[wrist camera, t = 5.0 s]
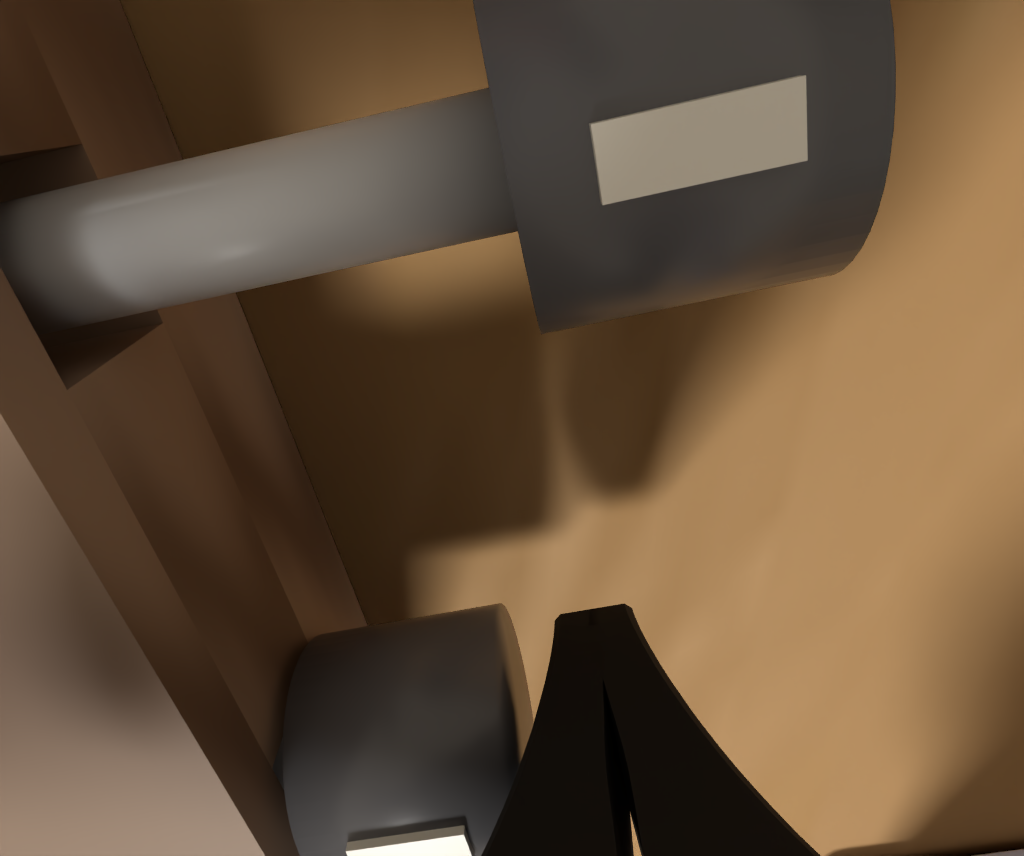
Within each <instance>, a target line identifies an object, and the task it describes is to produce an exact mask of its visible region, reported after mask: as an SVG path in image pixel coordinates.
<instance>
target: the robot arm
mask: <svg viewBox="0 0 1024 856" xmlns="http://www.w3.org/2000/svg"><path fill="white" fill-rule="evenodd" d="M630 813H631V817H632V821H633V824H634V828H635V832H636V836H637V840H638V843H639V847H640V851H641V855H642V856H820V855H819V854H818V853H817V852H816V851H815V850H814V849H813V848H812V847H811V846H810V845H809V844H808V843H807V842H806V841H805V840H804V839H803V838H801V837H800V836H799V835H798V834H797V833H796V832H795V831H794V830H793V829H792V827H791V826H790V825H789V824H788V823H787V822H786V821H785V820H784V819H783V818H782V817H781V816H780V815H779V814H778V813H777V812H776V811H775V810H774V809H773V808H772V806H771V805H770V804H769V803H768V802H767V801H766V800H765V799H764V798H763V797H762V796H761V795H760V793H759V792H758V791H757V790H756V789H755V788H754V787H753V786H752V785H751V783H750V782H749V781H748V780H747V779H746V778H745V777H744V776H743V774H742V773H741V772H740V771H739V770H738V769H737V767H736V766H735V765H734V764H733V763H732V762H731V760H730V759H729V758H728V757H727V755H726V754H725V753H724V752H723V751H722V749H721V748H720V747H719V746H718V744H717V743H716V742H715V741H714V739H713V738H712V737H711V735H710V734H709V733H708V732H707V730H706V729H705V728H704V727H703V725H702V724H701V723H700V721H699V720H698V719H697V717H696V716H695V715H694V713H693V712H692V711H691V709H690V708H689V706H688V705H687V704H686V702H685V701H684V699H683V698H682V696H681V695H680V693H679V692H678V690H677V689H676V688H675V686H674V685H673V683H672V682H671V680H670V679H669V677H668V676H667V674H666V673H665V671H664V670H663V668H662V666H661V665H660V663H659V662H658V660H657V658H656V657H655V655H654V653H653V651H652V650H651V648H650V646H649V645H648V643H647V641H646V639H645V637H644V635H643V633H642V631H641V629H640V627H639V625H638V623H637V620H636V618H635V616H634V613H633V610H632V608H631V607H629V606H627V605H626V604H619V605H613V606H607V607H601V608H595V609H589V610H583V611H577V612H571V613H565V614H560V615H559V617H558V618H557V619H556V620H555V628H554V638H553V646H552V652H551V657H550V662H549V667H548V671H547V676H546V680H545V684H544V688H543V692H542V695H541V699H540V703H539V706H538V710H537V714H536V717H535V721H534V724H533V727H532V731H531V733H530V736H529V739H528V742H527V745H526V748H525V751H524V754H523V757H522V760H521V762H520V765H519V768H518V771H517V774H516V777H515V779H514V782H513V784H512V787H511V789H510V792H509V795H508V797H507V799H506V802H505V804H504V807H503V809H502V811H501V814H500V816H499V818H498V820H497V823H496V825H495V827H494V830H493V832H492V834H491V836H490V838H489V841H488V843H487V845H486V847H485V849H484V851H483V853H482V855H481V856H634V854H633V842H632V831H631V819H630ZM973 856H1024V849H1019V850H1011V851H1004V852H996V853H988V854H981V855H973Z"/></svg>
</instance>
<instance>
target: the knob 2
mask: <svg viewBox="0 0 1024 856" xmlns="http://www.w3.org/2000/svg"><path fill="white" fill-rule="evenodd" d="M533 724H534V723H533V716H532V709H531V703H530V697H529V691H528V685H527V680H526V675H525V670H524V665H523V660H522V656H521V652H520V647H519V644H518V640H517V636H516V633H515V629H514V626H513V623H512V620H511V618H510V615H509V613H508V611H507V609H506V607H505V606H504V605H503V604H502V603H501V604H494V605H488V606H482V607H476V608H471V609H465V610H459V611H453V612H447V613H441V614H435V615H430V616H424V617H418V618H412V619H406V620H400V621H395V622H389V623H383V624H377V625H371V626H365V627H360V628H354V629H348V630H342V631H336V632H330V633H324V634H320V635H318V636H316V637H314V638H313V639H312V640H311V641H310V642H309V643H308V644H307V646H306V647H305V648H304V650H303V652H302V653H301V655H300V657H299V659H298V662H297V664H296V667H295V669H294V672H293V676H292V679H291V682H290V687H289V691H288V696H287V702H286V708H285V715H284V725H283V738H282V741H281V744H280V747H279V750H278V753H277V755H276V758H275V761H274V764H273V767H272V769H273V771H274V773H275V775H276V776H277V778H278V780H279V782H280V784H281V786H282V788H283V789H284V793H285V801H286V808H287V813H288V818H289V823H290V827H291V831H292V835H293V838H294V841H295V844H296V847H297V850H298V853H299V855H300V856H481V855H482V853H483V851H484V849H485V847H486V845H487V843H488V841H489V838H490V836H491V834H492V832H493V830H494V827H495V825H496V823H497V820H498V818H499V816H500V814H501V811H502V809H503V807H504V804H505V802H506V799H507V797H508V795H509V792H510V789H511V787H512V784H513V782H514V779H515V777H516V774H517V771H518V768H519V765H520V762H521V760H522V757H523V754H524V751H525V748H526V745H527V742H528V739H529V736H530V733H531V731H532V727H533Z"/></svg>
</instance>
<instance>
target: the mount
mask: <svg viewBox="0 0 1024 856" xmlns="http://www.w3.org/2000/svg"><path fill="white" fill-rule="evenodd" d="M180 160H183V159H182V156H181V154H180V151H179V149H178V146H177V144H176V141H175V139H174V136H173V134H172V131H171V129H170V126H169V124H168V121H167V119H166V116H165V114H164V111H163V109H162V106H161V103H160V101H159V98H158V96H157V93H156V91H155V88H154V86H153V83H152V81H151V78H150V76H149V73H148V71H147V68H146V66H145V63H144V61H143V58H142V56H141V53H140V51H139V48H138V45H137V43H136V40H135V38H134V35H133V33H132V30H131V28H130V25H129V23H128V20H127V18H126V15H125V13H124V10H123V8H122V5H121V3H120V0H0V203H2V202H6V201H10V200H14V199H19V198H23V197H27V196H31V195H36V194H40V193H44V192H48V191H53V190H57V189H61V188H65V187H69V186H74V185H78V184H82V183H86V182H91V181H95V180H99V179H103V178H108V177H112V176H116V175H120V174H125V173H129V172H133V171H137V170H142V169H146V168H150V167H154V166H159V165H163V164H167V163H171V162H176V161H180ZM365 626H368V625H367V623H366V620H365V618H364V615H363V613H362V610H361V608H360V605H359V603H358V600H357V598H356V595H355V593H354V590H353V588H352V585H351V583H350V580H349V578H348V575H347V573H346V570H345V567H344V565H343V562H342V560H341V557H340V555H339V552H338V550H337V547H336V545H335V542H334V540H333V537H332V535H331V532H330V530H329V527H328V525H327V522H326V520H325V517H324V515H323V512H322V509H321V507H320V504H319V502H318V499H317V497H316V494H315V492H314V489H313V487H312V484H311V482H310V479H309V477H308V474H307V472H306V469H305V467H304V464H303V462H302V459H301V457H300V454H299V451H298V449H297V446H296V444H295V441H294V439H293V436H292V434H291V431H290V429H289V426H288V424H287V421H286V419H285V416H284V414H283V411H282V409H281V406H280V404H279V401H278V399H277V396H276V393H275V391H274V388H273V386H272V383H271V381H270V378H269V376H268V373H267V371H266V368H265V366H264V363H263V361H262V358H261V356H260V353H259V351H258V348H257V346H256V343H255V341H254V338H253V335H252V333H251V330H250V328H249V325H248V323H247V320H246V318H245V315H244V313H243V310H242V308H241V305H240V303H239V300H238V298H237V295H236V293H230V294H226V295H221V296H217V297H212V298H207V299H203V300H198V301H194V302H189V303H184V304H180V305H175V306H171V307H166V308H161V309H157V310H152V311H148V312H143V313H138V314H134V315H129V316H124V317H120V318H115V319H111V320H106V321H101V322H97V323H92V324H88V325H83V326H78V327H74V328H69V329H65V330H60V331H55V332H51V333H46V334H42V335H37V334H36V332H35V330H34V328H33V326H32V324H31V323H30V321H29V319H28V317H27V315H26V313H25V311H24V310H23V308H22V306H21V304H20V302H19V300H18V299H17V297H16V295H15V293H14V291H13V289H12V288H11V286H10V284H9V282H8V280H7V278H6V276H5V275H4V273H3V271H2V269H1V267H0V856H300V855H299V853H298V850H297V847H296V844H295V841H294V838H293V835H292V831H291V827H290V823H289V818H288V813H287V808H286V801H285V793H284V789H283V788H282V786H281V784H280V782H279V780H278V778H277V776H276V775H275V773H274V771H273V769H272V767H273V764H274V761H275V758H276V755H277V753H278V750H279V747H280V744H281V741H282V738H283V725H284V715H285V708H286V702H287V696H288V691H289V687H290V682H291V679H292V676H293V672H294V669H295V667H296V664H297V662H298V659H299V657H300V655H301V653H302V652H303V650H304V648H305V647H306V646H307V644H308V643H309V642H310V641H311V640H312V639H313V638H314V637H316V636H318V635H320V634H324V633H330V632H336V631H342V630H348V629H354V628H360V627H365Z"/></svg>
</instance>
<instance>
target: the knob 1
mask: <svg viewBox="0 0 1024 856" xmlns="http://www.w3.org/2000/svg"><path fill="white" fill-rule="evenodd" d="M473 4H474V10H475V15H476V21H477V26H478V31H479V37H480V42H481V47H482V53H483V58H484V63H485V68H486V73H487V79H488V84H489V88H485V89H481V90H477V91H472V92H468V93H464V94H460V95H456V96H451V97H447V98H443V99H439V100H434V101H430V102H426V103H422V104H417V105H413V106H409V107H405V108H400V109H396V110H392V111H388V112H383V113H379V114H375V115H371V116H366V117H362V118H358V119H354V120H349V121H345V122H341V123H337V124H333V125H328V126H324V127H320V128H316V129H311V130H307V131H303V132H299V133H294V134H290V135H286V136H282V137H277V138H273V139H269V140H265V141H260V142H256V143H252V144H248V145H243V146H239V147H235V148H231V149H226V150H222V151H218V152H214V153H209V154H205V155H201V156H197V157H193V158H188V159H184V160H180V161H176V162H171V163H167V164H163V165H159V166H154V167H150V168H146V169H142V170H137V171H133V172H129V173H125V174H120V175H116V176H112V177H108V178H103V179H99V180H95V181H91V182H86V183H82V184H78V185H74V186H69V187H65V188H61V189H57V190H53V191H48V192H44V193H40V194H36V195H31V196H27V197H23V198H19V199H14V200H10V201H6V202H2V203H0V267H1V269H2V271H3V273H4V275H5V276H6V278H7V280H8V282H9V284H10V286H11V288H12V289H13V291H14V293H15V295H16V297H17V299H18V300H19V302H20V304H21V306H22V308H23V310H24V311H25V313H26V315H27V317H28V319H29V321H30V323H31V324H32V326H33V328H34V330H35V332H36V334H37V335H42V334H46V333H51V332H55V331H60V330H65V329H69V328H74V327H78V326H83V325H88V324H92V323H97V322H101V321H106V320H111V319H115V318H120V317H124V316H129V315H134V314H138V313H143V312H148V311H152V310H157V309H161V308H166V307H171V306H175V305H180V304H184V303H189V302H194V301H198V300H203V299H207V298H212V297H217V296H221V295H226V294H230V293H235V292H240V291H244V290H249V289H253V288H258V287H263V286H267V285H272V284H277V283H281V282H286V281H290V280H295V279H300V278H304V277H309V276H313V275H318V274H323V273H327V272H332V271H336V270H341V269H346V268H350V267H355V266H359V265H364V264H369V263H373V262H378V261H382V260H387V259H392V258H396V257H401V256H406V255H410V254H415V253H419V252H424V251H429V250H433V249H438V248H442V247H447V246H452V245H456V244H461V243H465V242H470V241H475V240H479V239H484V238H488V237H493V236H498V235H502V234H507V233H511V232H516V231H518V233H519V238H520V243H521V248H522V253H523V257H524V262H525V267H526V271H527V276H528V281H529V285H530V290H531V294H532V299H533V303H534V308H535V312H536V316H537V321H538V325H539V329H540V332H541V334H544V333H549V332H554V331H559V330H564V329H569V328H574V327H579V326H584V325H589V324H594V323H598V322H603V321H608V320H613V319H618V318H623V317H628V316H633V315H638V314H643V313H648V312H652V311H657V310H662V309H667V308H672V307H677V306H682V305H687V304H692V303H697V302H702V301H706V300H711V299H716V298H721V297H726V296H731V295H736V294H741V293H746V292H751V291H756V290H761V289H765V288H770V287H775V286H780V285H785V284H790V283H795V282H800V281H805V280H810V279H815V278H819V277H824V276H829V275H834V274H836V273H838V272H839V271H841V270H843V269H844V268H845V267H846V266H847V265H848V264H850V263H851V262H852V261H853V259H854V258H855V256H856V255H857V254H858V252H859V251H860V250H861V248H862V246H863V244H864V242H865V240H866V238H867V236H868V235H869V233H870V230H871V227H872V225H873V222H874V220H875V217H876V214H877V212H878V208H879V205H880V201H881V197H882V194H883V190H884V186H885V181H886V176H887V171H888V166H889V161H890V153H891V145H892V137H893V129H894V113H895V90H896V62H895V45H894V28H893V20H892V12H891V4H890V0H473Z"/></svg>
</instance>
